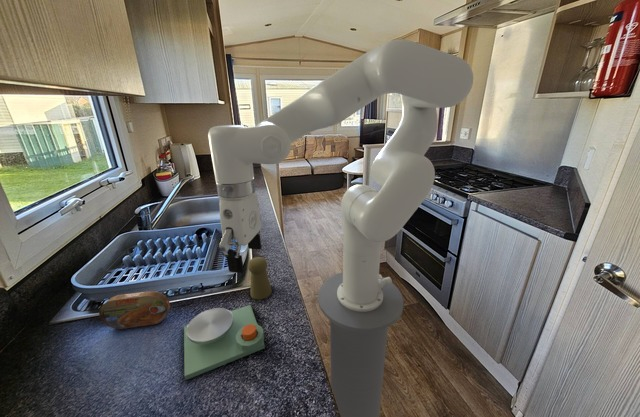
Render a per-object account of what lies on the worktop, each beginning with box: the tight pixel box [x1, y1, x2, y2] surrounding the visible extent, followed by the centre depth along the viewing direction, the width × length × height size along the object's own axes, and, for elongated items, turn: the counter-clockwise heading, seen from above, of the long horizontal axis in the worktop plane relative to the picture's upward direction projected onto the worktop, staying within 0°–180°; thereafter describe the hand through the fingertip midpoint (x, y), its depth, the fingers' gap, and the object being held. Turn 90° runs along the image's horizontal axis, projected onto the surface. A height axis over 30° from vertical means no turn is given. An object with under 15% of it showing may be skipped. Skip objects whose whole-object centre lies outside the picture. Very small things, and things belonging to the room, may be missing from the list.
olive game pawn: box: [247, 256, 272, 301], centre depth 74 cm, size 6×6×11 cm
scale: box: [183, 304, 266, 381], centre depth 60 cm, size 16×14×3 cm
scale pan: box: [187, 307, 234, 344], centre depth 60 cm, size 10×10×1 cm
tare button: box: [242, 324, 257, 341], centre depth 58 cm, size 3×3×2 cm
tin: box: [98, 290, 171, 330], centre depth 64 cm, size 15×3×8 cm, turn 99°
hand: (246, 259), depth 60 cm, fingers open, 9 cm apart
